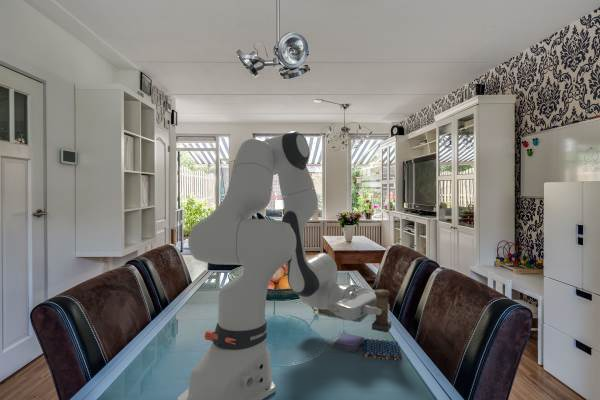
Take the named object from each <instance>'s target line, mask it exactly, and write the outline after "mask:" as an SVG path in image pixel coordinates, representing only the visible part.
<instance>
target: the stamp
mask: <svg viewBox="0 0 600 400" xmlns="http://www.w3.org/2000/svg"><path fill="white" fill-rule="evenodd" d="M374 290H375V295H376V307H381V308H382V314H380V315H376V314H375V320H374V322H372V324H371V330H373V331H377V332H383V333H387V334H388V333H389V331H390V329H391V328H392V321H389V309H388V304H389V296H390V293H391V292H390V291H389V290H388V289H383V288H381V289H380V288H379V289H374Z"/></svg>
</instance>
